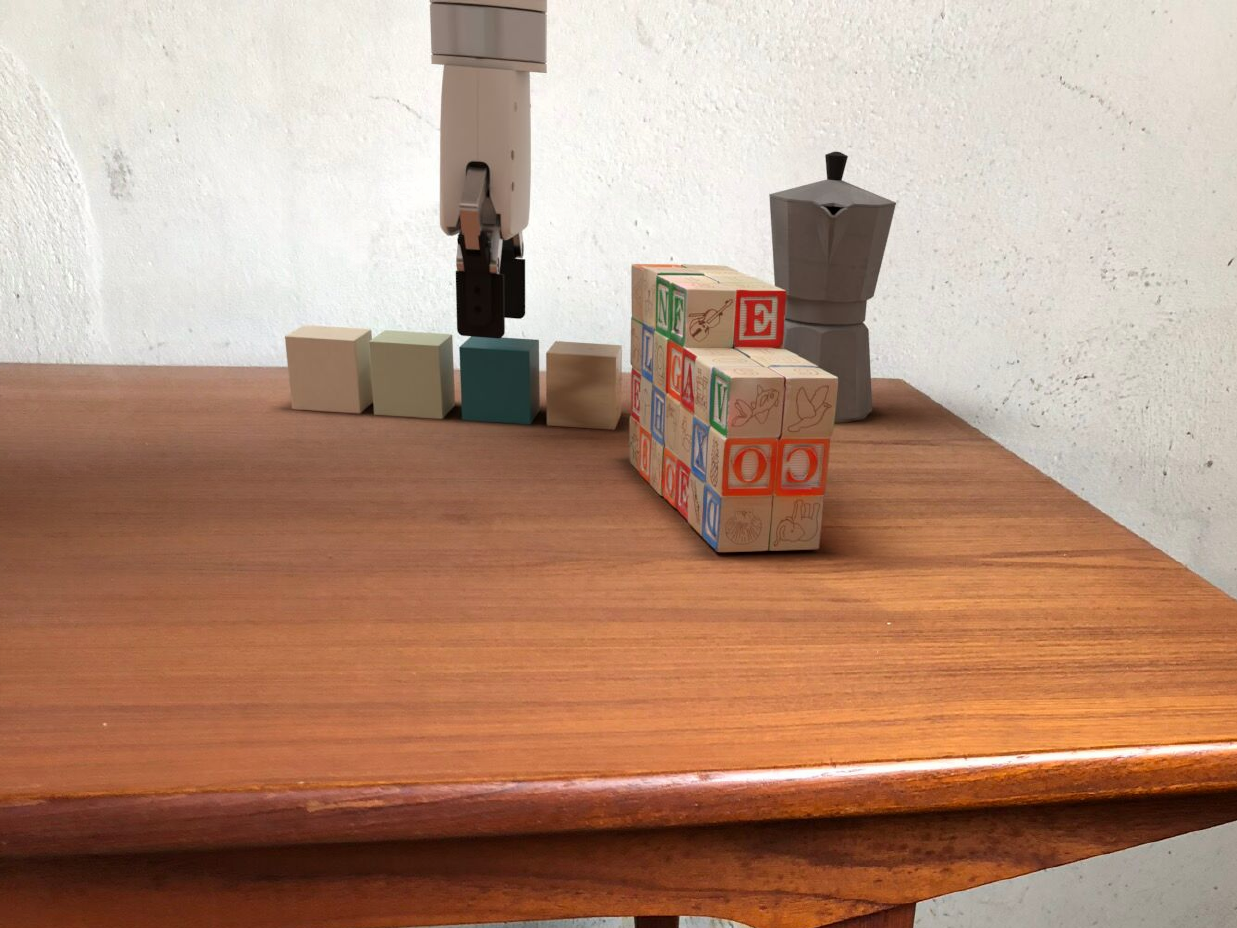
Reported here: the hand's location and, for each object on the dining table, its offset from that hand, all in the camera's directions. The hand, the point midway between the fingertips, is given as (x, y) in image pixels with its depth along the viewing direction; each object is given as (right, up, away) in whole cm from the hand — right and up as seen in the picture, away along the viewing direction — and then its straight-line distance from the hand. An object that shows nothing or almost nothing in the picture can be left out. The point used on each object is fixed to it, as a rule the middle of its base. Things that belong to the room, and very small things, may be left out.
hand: (492, 326), depth 100 cm
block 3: (+6, -5, +4) cm, 9 cm away
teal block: (0, -5, +4) cm, 6 cm away
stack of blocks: (+16, -17, -14) cm, 28 cm away
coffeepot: (+24, -1, +12) cm, 27 cm away
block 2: (-6, -5, +4) cm, 9 cm away
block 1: (-12, -4, +4) cm, 13 cm away
